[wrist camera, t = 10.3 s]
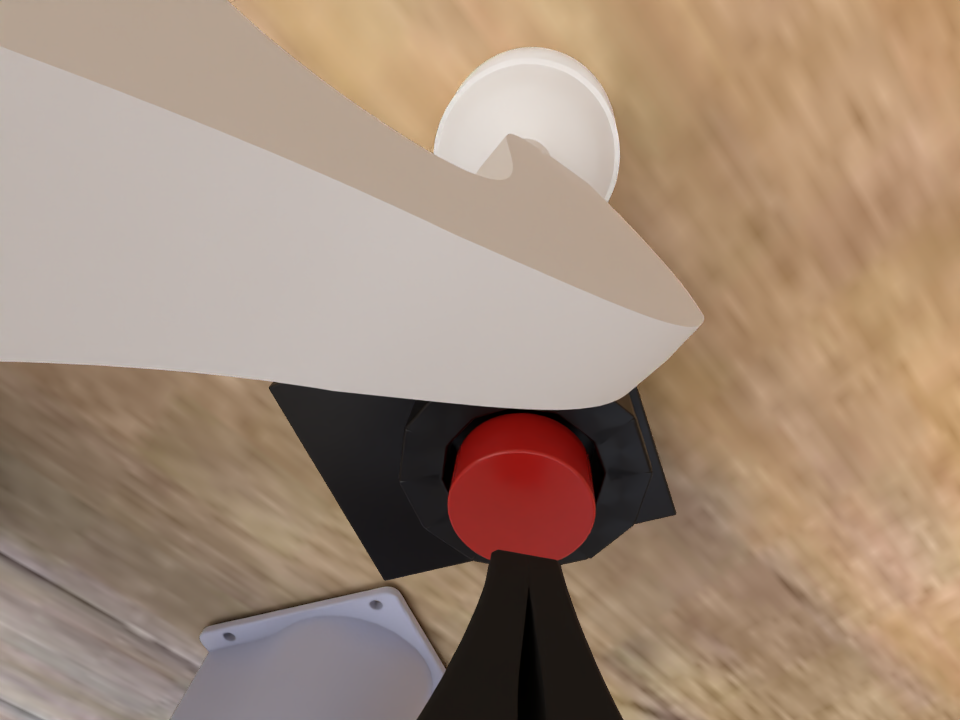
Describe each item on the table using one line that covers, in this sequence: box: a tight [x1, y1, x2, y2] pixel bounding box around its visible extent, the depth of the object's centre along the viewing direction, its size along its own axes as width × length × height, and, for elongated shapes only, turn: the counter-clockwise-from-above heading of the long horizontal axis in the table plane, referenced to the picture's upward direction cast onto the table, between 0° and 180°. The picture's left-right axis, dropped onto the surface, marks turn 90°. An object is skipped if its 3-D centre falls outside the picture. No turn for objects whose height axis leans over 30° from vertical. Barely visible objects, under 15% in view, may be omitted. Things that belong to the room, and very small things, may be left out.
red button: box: [447, 413, 596, 561], centre depth 15 cm, size 4×4×2 cm
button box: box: [269, 382, 676, 580], centre depth 17 cm, size 10×8×4 cm
